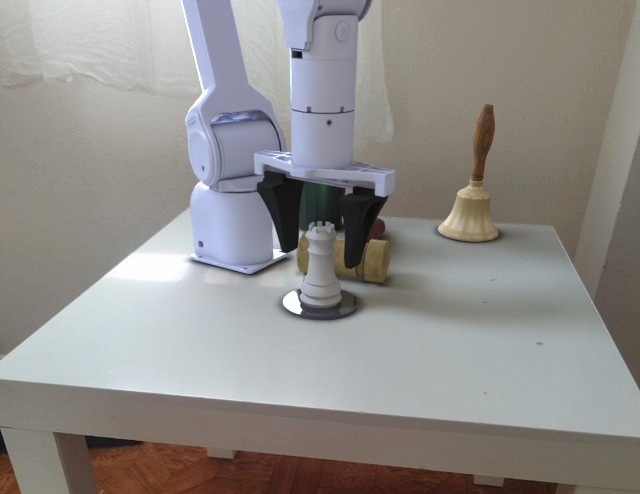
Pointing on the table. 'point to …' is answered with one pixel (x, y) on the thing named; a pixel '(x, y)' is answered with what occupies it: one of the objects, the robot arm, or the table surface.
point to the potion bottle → (320, 205)
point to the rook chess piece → (321, 268)
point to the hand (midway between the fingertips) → (320, 257)
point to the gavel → (372, 259)
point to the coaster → (299, 309)
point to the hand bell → (474, 190)
